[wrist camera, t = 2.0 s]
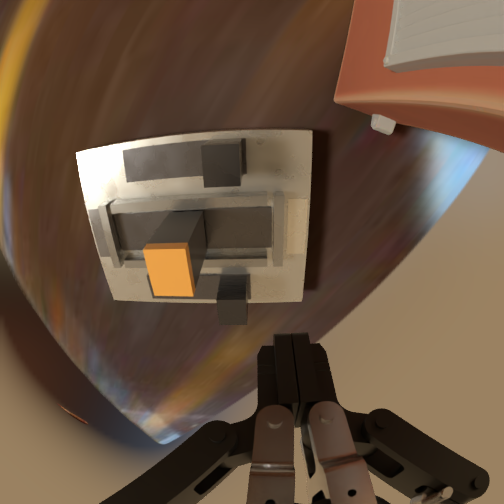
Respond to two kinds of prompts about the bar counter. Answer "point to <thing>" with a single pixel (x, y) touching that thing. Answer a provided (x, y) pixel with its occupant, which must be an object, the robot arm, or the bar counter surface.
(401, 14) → the orange rectangular box
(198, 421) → the bar counter surface
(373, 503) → the robot arm
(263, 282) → the breaker board
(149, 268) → the block
